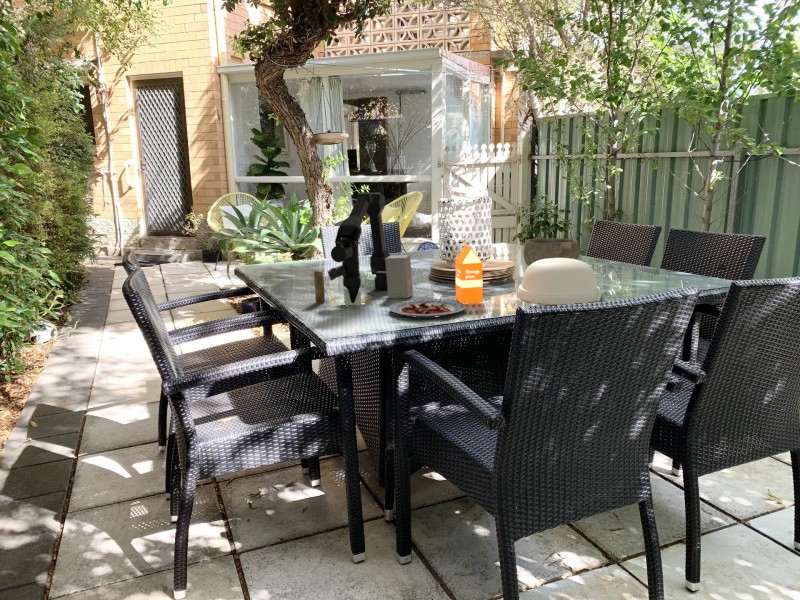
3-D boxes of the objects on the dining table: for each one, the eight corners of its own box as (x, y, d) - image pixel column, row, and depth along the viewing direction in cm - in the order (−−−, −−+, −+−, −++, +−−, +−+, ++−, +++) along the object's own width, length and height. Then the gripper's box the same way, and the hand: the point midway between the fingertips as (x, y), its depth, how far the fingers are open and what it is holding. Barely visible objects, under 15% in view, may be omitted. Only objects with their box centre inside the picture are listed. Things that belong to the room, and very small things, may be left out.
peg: (325, 302, 232) (323, 270, 230) (324, 303, 229) (323, 271, 227) (315, 302, 232) (314, 270, 230) (315, 304, 229) (313, 272, 226)
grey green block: (360, 301, 230) (360, 288, 229) (361, 305, 224) (360, 291, 223) (344, 302, 229) (344, 289, 228) (344, 305, 223) (344, 292, 222)
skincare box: (413, 295, 240) (412, 254, 236) (407, 299, 233) (406, 257, 230) (392, 294, 242) (391, 254, 239) (386, 298, 236) (384, 256, 233)
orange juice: (475, 298, 231) (475, 244, 227) (482, 303, 222) (482, 247, 218) (455, 299, 230) (454, 245, 226) (461, 304, 221) (461, 248, 217)
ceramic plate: (408, 325, 194) (408, 315, 194) (378, 309, 218) (377, 301, 217) (479, 315, 204) (479, 306, 204) (443, 301, 228) (443, 293, 227)
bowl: (585, 276, 269) (586, 242, 266) (529, 278, 270) (529, 243, 267) (571, 268, 293) (571, 236, 290) (519, 269, 293) (519, 238, 290)
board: (370, 295, 242) (370, 295, 242) (372, 305, 224) (372, 304, 224) (329, 297, 240) (329, 296, 240) (327, 307, 223) (327, 306, 223)
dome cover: (499, 298, 230) (499, 261, 228) (539, 286, 252) (540, 251, 249) (580, 309, 209) (582, 267, 207) (617, 294, 231) (618, 257, 228)
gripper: (328, 256, 232) (331, 297, 235) (327, 263, 213) (329, 307, 217) (358, 254, 233) (360, 295, 236) (360, 261, 214) (361, 306, 217)
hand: (352, 301), depth 226 cm, fingers closed on grey green block, 6 cm apart
